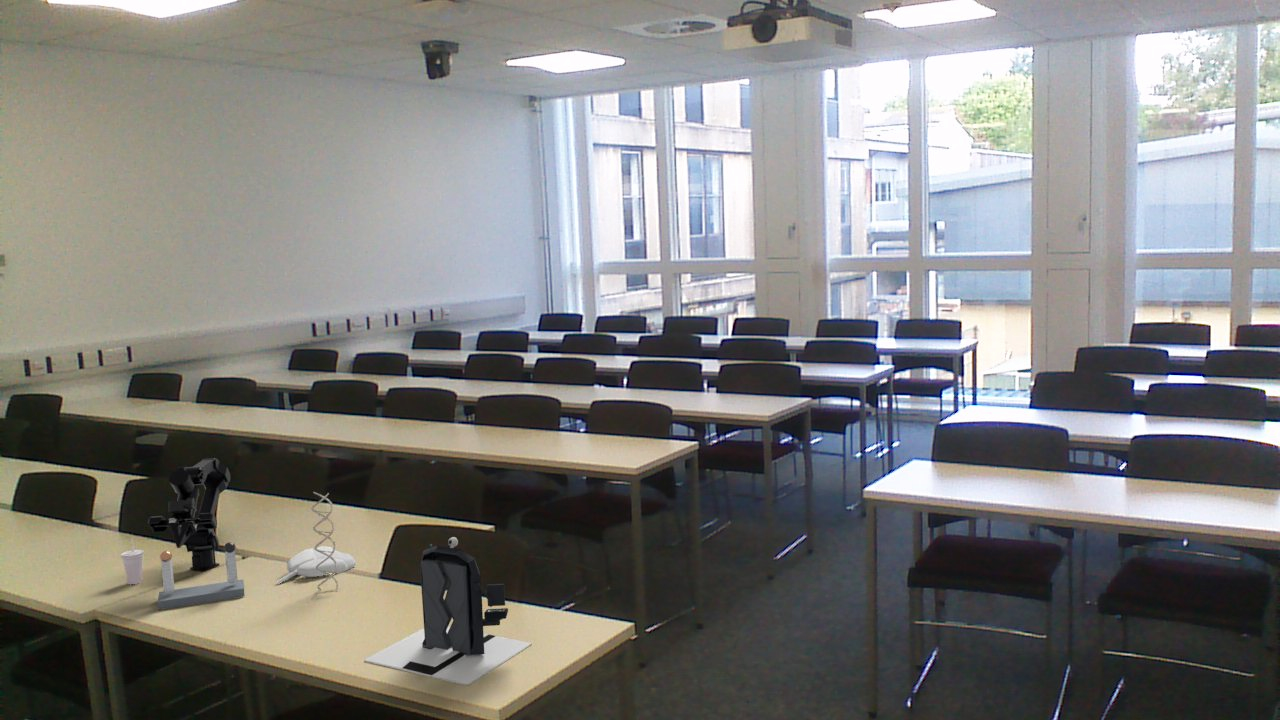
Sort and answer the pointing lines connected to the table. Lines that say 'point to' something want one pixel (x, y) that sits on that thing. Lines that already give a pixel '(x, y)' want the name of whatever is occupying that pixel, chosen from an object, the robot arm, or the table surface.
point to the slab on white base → (453, 623)
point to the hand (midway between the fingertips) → (178, 547)
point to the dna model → (325, 539)
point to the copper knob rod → (167, 571)
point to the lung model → (311, 558)
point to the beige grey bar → (231, 562)
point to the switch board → (200, 594)
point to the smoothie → (133, 564)
